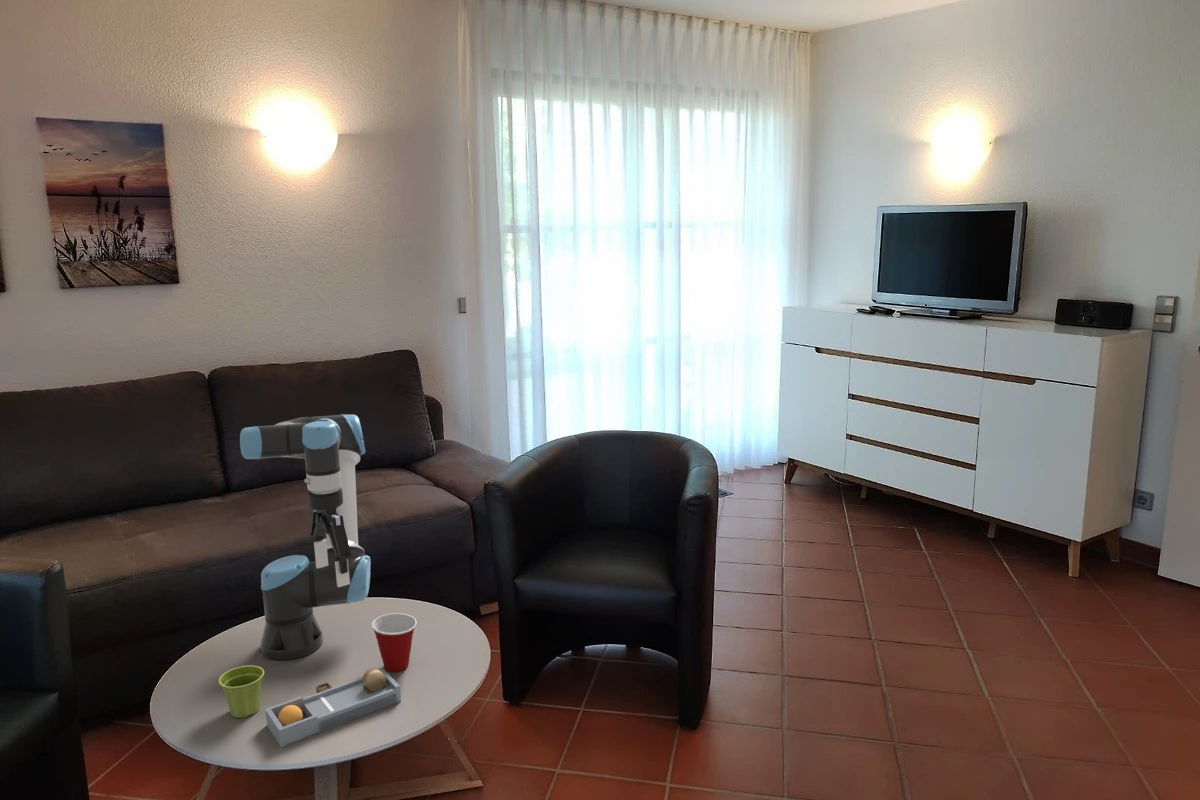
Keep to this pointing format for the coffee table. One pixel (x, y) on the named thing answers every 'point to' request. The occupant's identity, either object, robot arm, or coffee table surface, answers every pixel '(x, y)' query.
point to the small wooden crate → (323, 687)
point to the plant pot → (242, 689)
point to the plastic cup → (394, 639)
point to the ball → (290, 715)
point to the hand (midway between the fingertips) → (332, 575)
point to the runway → (331, 709)
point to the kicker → (373, 680)
